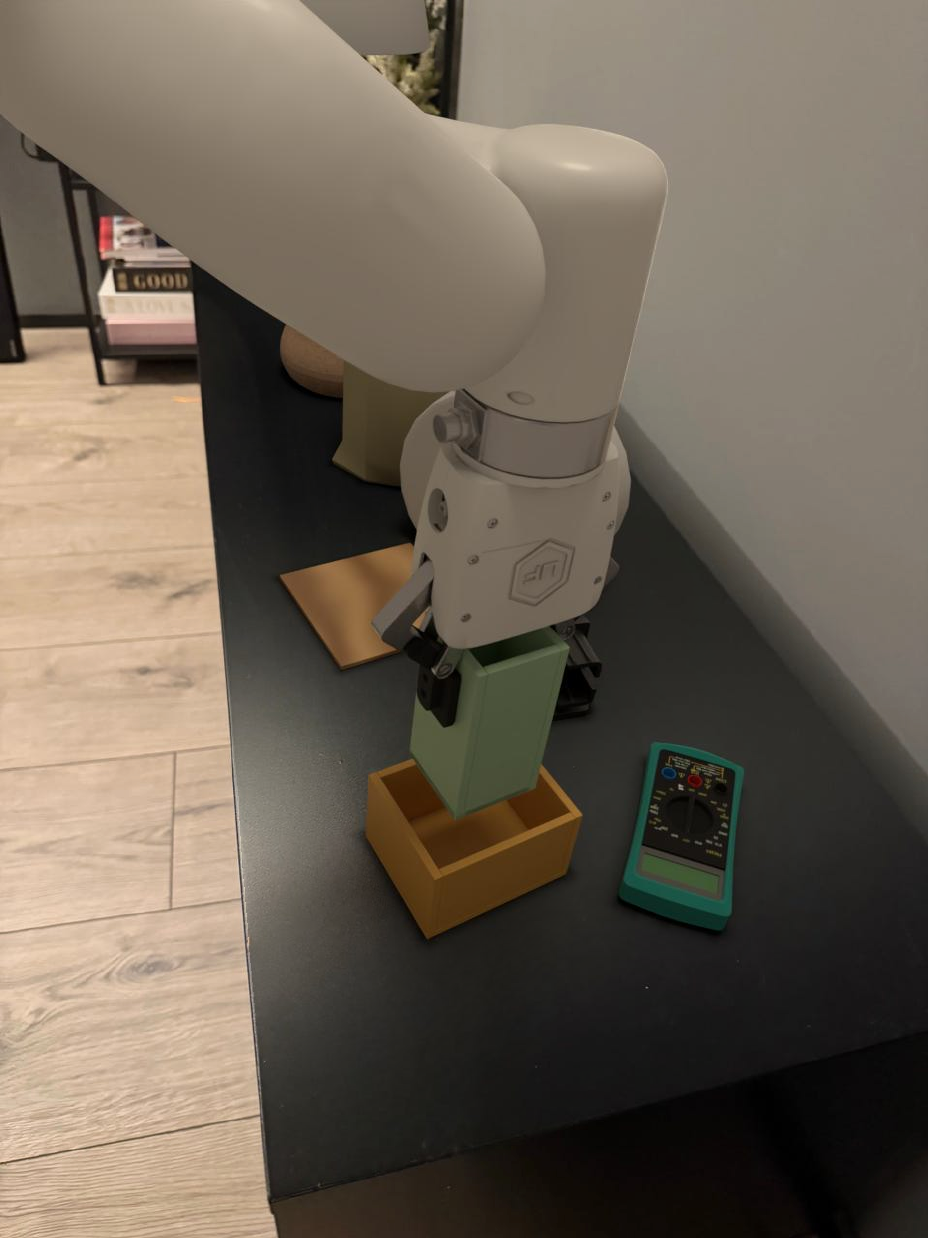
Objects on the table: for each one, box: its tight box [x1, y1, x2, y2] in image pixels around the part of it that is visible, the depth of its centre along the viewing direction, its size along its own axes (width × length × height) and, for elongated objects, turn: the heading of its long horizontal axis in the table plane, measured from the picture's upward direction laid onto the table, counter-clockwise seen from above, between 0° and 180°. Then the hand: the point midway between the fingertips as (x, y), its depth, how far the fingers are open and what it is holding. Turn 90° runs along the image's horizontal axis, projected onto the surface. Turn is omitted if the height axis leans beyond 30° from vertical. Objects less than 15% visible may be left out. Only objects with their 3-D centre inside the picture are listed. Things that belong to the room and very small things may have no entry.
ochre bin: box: [365, 758, 583, 940], centre depth 63 cm, size 11×9×7 cm
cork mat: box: [279, 542, 430, 671], centre depth 86 cm, size 14×14×1 cm
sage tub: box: [409, 610, 570, 820], centre depth 56 cm, size 6×6×12 cm
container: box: [331, 360, 450, 487], centre depth 99 cm, size 24×17×30 cm
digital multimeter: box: [618, 741, 745, 931], centre depth 67 cm, size 7×15×3 cm, turn 163°
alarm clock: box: [400, 391, 632, 536], centre depth 88 cm, size 21×8×20 cm, turn 61°
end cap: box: [552, 614, 603, 721], centre depth 77 cm, size 10×7×7 cm
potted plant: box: [279, 324, 344, 399], centre depth 114 cm, size 22×18×30 cm
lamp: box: [299, 0, 431, 56], centre depth 143 cm, size 29×29×43 cm
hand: (485, 692), depth 55 cm, fingers closed on sage tub, 6 cm apart
